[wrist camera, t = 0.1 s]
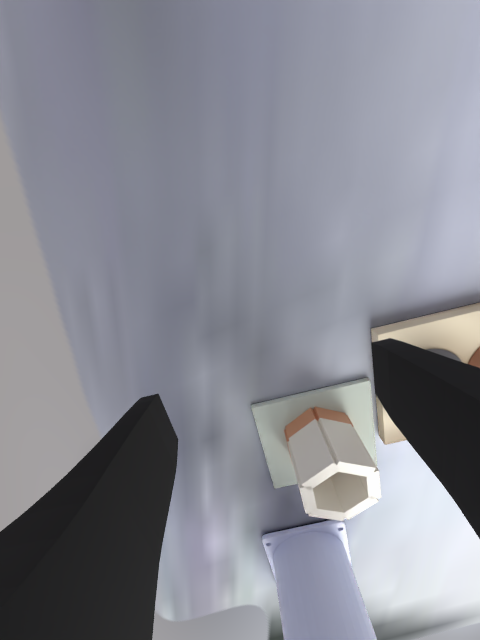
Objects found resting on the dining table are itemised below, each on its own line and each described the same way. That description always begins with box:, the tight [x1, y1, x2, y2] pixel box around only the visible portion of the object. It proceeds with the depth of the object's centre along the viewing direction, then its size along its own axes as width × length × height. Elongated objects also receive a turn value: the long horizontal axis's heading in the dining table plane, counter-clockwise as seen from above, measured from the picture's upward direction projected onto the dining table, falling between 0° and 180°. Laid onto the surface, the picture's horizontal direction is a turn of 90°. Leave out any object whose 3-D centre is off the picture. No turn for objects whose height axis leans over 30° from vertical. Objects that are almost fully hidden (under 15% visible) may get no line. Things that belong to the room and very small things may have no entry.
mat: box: [251, 378, 377, 489], centre depth 24 cm, size 9×9×1 cm
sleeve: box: [284, 407, 381, 521], centre depth 21 cm, size 5×6×5 cm
